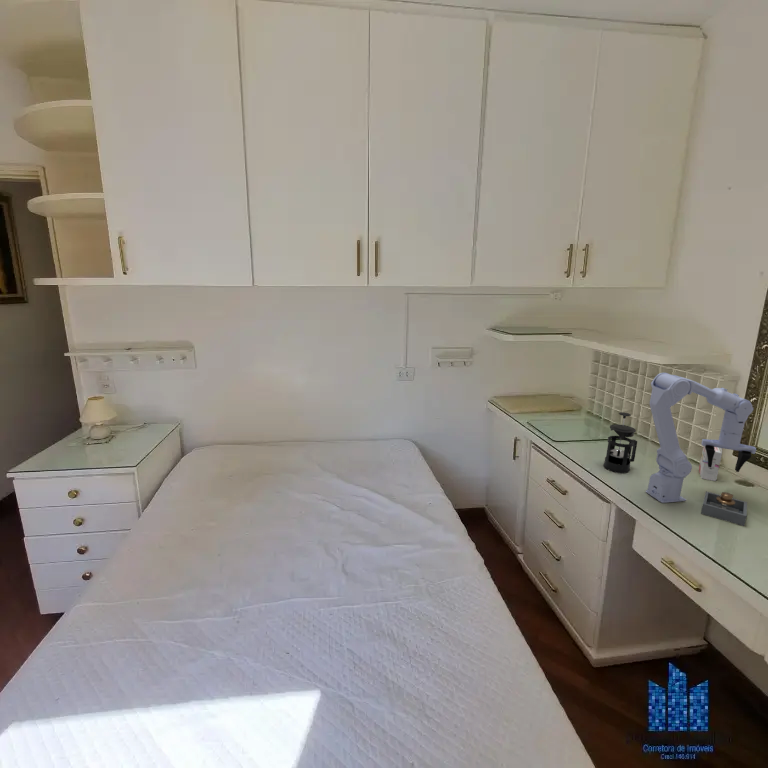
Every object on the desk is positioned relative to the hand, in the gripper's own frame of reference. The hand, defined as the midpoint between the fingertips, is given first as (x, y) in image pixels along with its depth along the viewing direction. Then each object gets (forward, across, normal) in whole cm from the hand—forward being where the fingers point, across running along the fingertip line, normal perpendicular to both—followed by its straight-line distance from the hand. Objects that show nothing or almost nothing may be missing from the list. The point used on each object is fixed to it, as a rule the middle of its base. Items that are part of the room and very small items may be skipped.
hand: (722, 468), depth 150 cm
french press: (+11, +31, -8) cm, 34 cm away
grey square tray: (+10, 0, +13) cm, 16 cm away
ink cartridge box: (+11, 0, -17) cm, 20 cm away
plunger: (+10, 0, +13) cm, 17 cm away
